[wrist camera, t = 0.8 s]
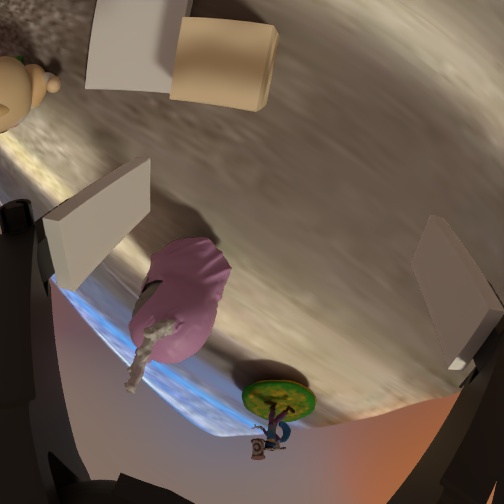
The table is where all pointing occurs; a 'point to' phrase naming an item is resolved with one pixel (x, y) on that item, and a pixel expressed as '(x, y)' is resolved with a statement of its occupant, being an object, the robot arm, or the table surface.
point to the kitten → (22, 90)
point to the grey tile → (135, 44)
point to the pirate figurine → (276, 409)
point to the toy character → (176, 303)
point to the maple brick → (224, 62)
